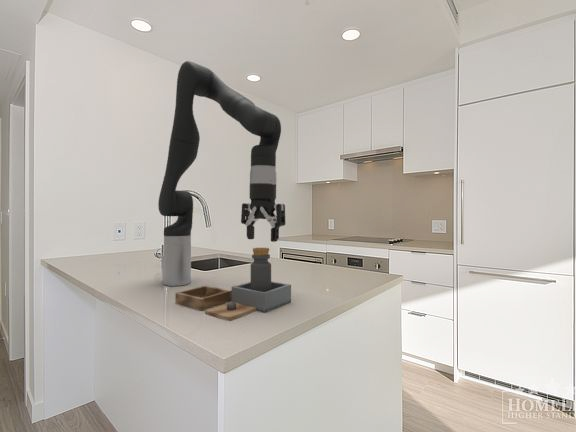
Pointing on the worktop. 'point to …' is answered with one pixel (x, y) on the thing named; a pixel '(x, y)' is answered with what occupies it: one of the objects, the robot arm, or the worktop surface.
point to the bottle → (261, 270)
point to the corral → (196, 301)
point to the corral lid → (230, 311)
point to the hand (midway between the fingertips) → (262, 240)
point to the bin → (262, 296)
